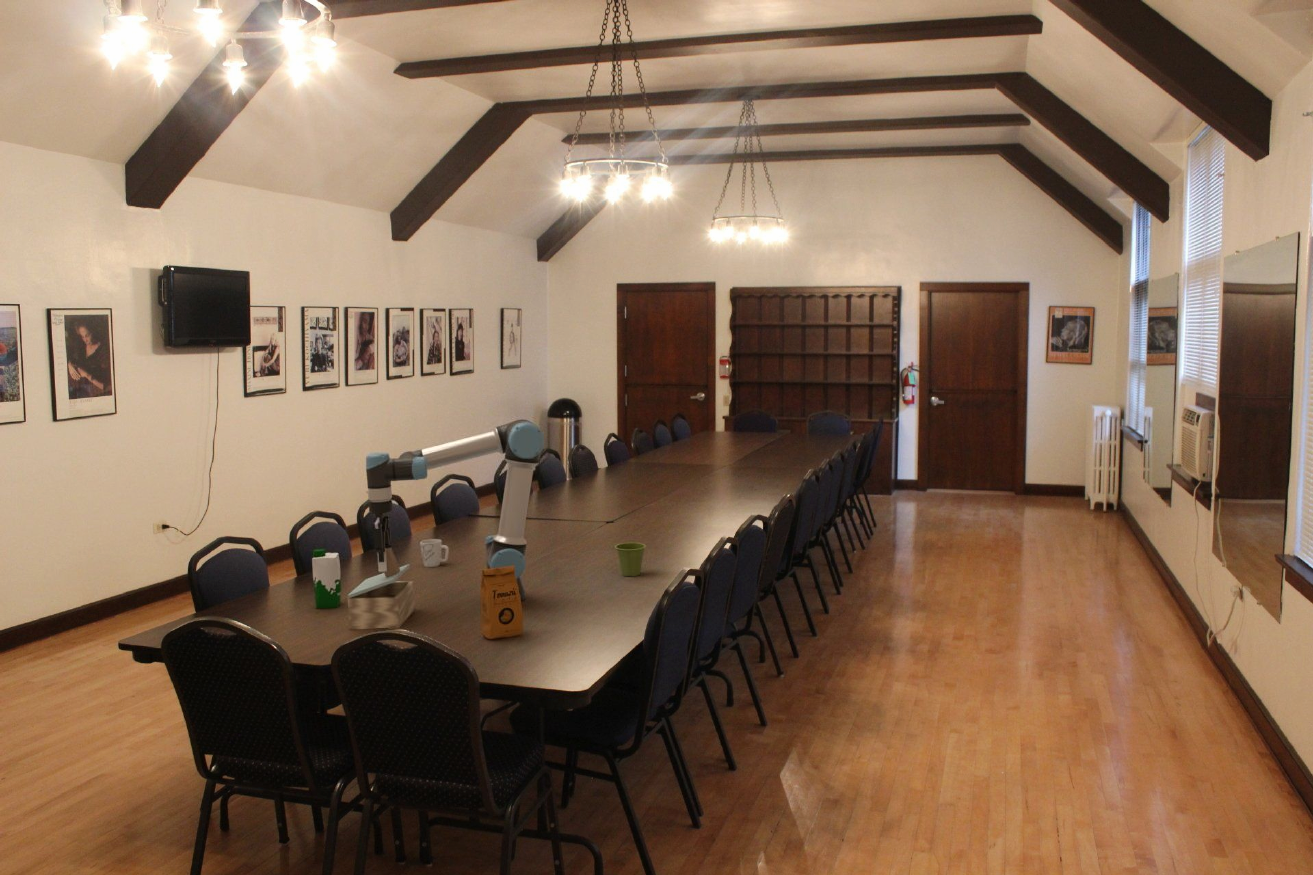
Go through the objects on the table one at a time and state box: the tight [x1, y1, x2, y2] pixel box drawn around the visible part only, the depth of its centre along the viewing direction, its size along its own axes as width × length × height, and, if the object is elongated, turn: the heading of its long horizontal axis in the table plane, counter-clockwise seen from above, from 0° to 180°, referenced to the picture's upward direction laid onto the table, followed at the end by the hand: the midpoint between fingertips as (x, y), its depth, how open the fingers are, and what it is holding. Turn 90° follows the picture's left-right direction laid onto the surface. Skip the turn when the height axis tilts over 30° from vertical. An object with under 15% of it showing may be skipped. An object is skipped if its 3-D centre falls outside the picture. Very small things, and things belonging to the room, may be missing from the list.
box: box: [347, 580, 416, 630], centre depth 348 cm, size 16×22×10 cm
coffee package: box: [479, 566, 524, 640], centre depth 327 cm, size 10×12×22 cm
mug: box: [419, 538, 450, 568], centre depth 424 cm, size 11×8×10 cm
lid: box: [347, 547, 411, 599], centre depth 347 cm, size 16×21×10 cm
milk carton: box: [311, 548, 342, 610], centre depth 366 cm, size 9×9×20 cm
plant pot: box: [614, 542, 647, 577], centre depth 402 cm, size 12×12×11 cm
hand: (384, 569), depth 347 cm, fingers closed on lid, 4 cm apart
